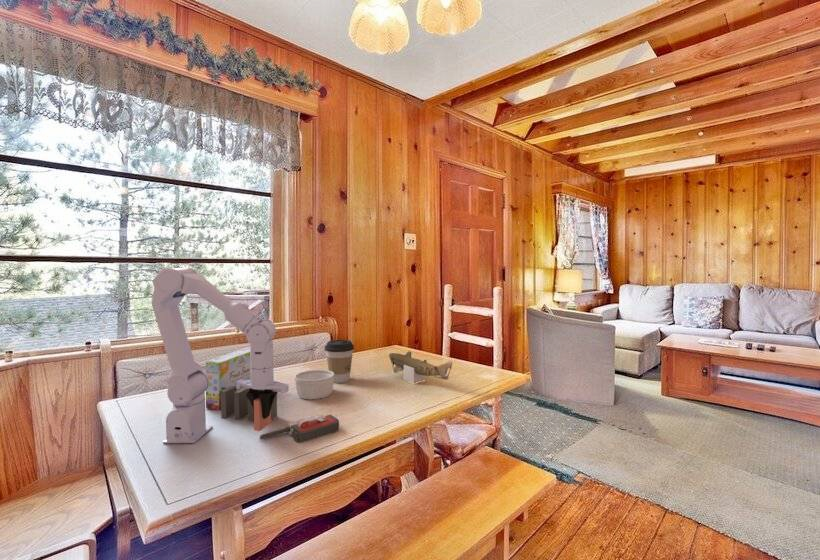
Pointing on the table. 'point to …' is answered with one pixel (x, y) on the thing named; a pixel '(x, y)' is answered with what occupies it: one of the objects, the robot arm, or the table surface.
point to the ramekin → (314, 384)
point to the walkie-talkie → (309, 428)
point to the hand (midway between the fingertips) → (262, 416)
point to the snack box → (226, 374)
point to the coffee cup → (339, 359)
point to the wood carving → (417, 368)
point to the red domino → (260, 416)
